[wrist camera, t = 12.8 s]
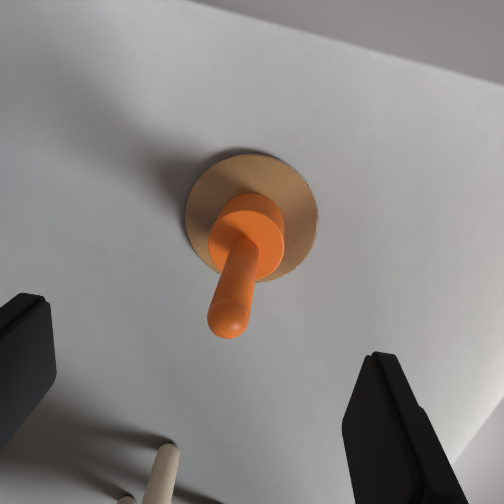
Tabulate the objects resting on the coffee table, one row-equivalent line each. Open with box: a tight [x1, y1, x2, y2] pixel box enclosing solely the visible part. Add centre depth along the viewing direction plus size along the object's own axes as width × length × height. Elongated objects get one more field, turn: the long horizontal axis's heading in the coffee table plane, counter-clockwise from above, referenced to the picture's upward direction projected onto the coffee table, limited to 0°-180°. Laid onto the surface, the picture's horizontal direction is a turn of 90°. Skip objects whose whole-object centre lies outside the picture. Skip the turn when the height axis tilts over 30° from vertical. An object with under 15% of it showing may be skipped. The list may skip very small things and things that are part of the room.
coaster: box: [185, 154, 318, 283], centre depth 24 cm, size 9×9×1 cm
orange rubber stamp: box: [207, 193, 284, 339], centre depth 18 cm, size 4×4×12 cm
